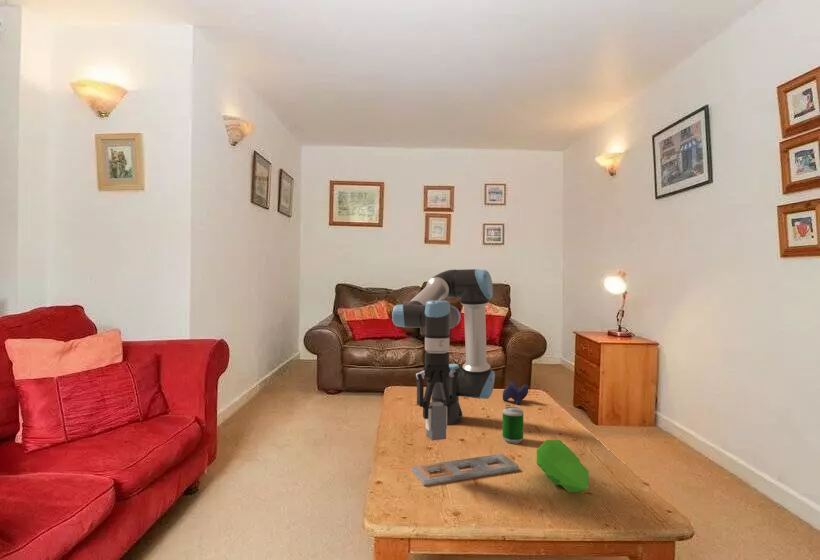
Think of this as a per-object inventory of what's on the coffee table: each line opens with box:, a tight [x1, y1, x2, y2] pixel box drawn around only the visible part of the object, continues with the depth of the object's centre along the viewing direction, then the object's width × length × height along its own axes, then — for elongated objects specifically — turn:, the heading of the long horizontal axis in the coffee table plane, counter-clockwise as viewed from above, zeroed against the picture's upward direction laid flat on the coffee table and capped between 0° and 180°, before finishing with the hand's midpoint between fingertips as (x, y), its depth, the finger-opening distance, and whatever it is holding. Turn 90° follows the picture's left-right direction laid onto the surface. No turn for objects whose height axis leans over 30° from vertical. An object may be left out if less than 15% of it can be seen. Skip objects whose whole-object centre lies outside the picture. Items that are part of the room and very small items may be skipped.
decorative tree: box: [536, 439, 590, 493], centre depth 128 cm, size 11×12×30 cm
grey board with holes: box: [411, 453, 520, 486], centre depth 138 cm, size 10×32×2 cm, turn 110°
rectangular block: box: [426, 402, 447, 441], centre depth 134 cm, size 4×4×10 cm
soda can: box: [502, 406, 524, 445], centre depth 164 cm, size 8×8×12 cm
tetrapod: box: [502, 380, 530, 406], centre depth 217 cm, size 11×12×11 cm
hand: (436, 428), depth 134 cm, fingers closed on rectangular block, 4 cm apart
